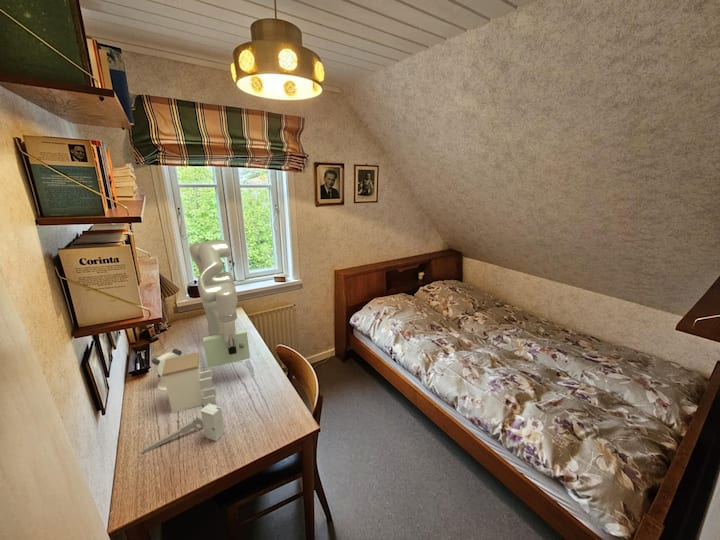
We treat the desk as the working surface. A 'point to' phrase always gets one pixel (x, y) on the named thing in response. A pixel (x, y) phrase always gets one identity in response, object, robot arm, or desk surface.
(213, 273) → the robot arm
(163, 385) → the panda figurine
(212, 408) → the skincare box
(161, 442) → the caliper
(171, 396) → the cabinet
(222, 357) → the door
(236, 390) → the desk surface
